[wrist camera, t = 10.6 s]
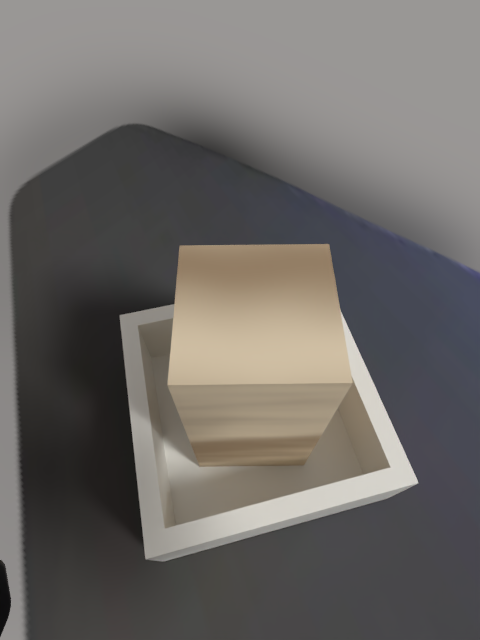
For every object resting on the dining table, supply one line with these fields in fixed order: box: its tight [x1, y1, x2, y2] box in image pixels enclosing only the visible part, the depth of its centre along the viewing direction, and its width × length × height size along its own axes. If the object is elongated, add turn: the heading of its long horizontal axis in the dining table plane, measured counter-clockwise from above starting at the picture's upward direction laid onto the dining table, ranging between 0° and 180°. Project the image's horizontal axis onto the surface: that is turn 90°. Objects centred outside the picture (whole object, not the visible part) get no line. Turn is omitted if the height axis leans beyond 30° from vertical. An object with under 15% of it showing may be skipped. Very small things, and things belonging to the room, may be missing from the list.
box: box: [119, 304, 418, 562], centre depth 19 cm, size 11×11×4 cm
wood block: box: [167, 244, 353, 467], centre depth 16 cm, size 5×5×10 cm
